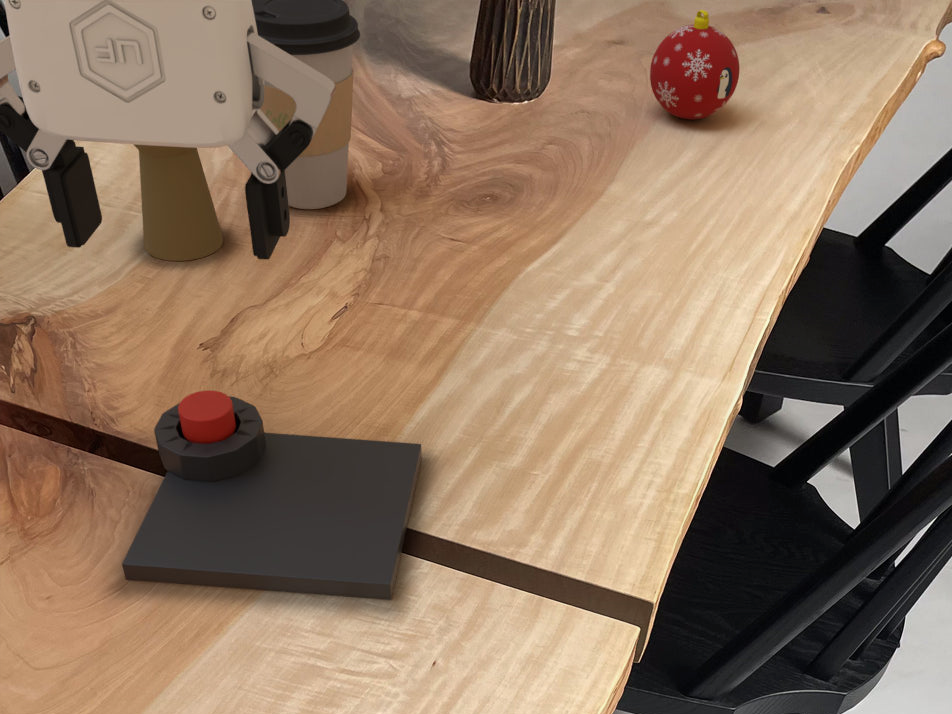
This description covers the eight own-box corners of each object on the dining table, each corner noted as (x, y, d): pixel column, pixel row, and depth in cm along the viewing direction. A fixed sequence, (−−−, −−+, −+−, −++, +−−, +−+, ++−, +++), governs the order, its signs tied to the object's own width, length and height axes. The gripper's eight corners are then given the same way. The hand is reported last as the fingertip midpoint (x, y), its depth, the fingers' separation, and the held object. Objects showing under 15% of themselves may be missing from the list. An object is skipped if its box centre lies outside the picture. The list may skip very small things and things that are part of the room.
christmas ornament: (694, 95, 114) (709, -8, 108) (749, 123, 109) (768, 17, 102) (627, 108, 111) (639, 3, 104) (681, 139, 105) (696, 30, 99)
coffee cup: (236, 209, 90) (210, 18, 81) (281, 164, 97) (263, -17, 88) (345, 226, 89) (332, 32, 79) (383, 179, 96) (375, -4, 86)
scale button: (176, 443, 62) (170, 418, 61) (191, 412, 65) (186, 388, 63) (228, 447, 62) (224, 422, 61) (241, 416, 64) (238, 391, 63)
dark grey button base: (107, 579, 58) (95, 536, 56) (181, 432, 67) (173, 391, 65) (391, 600, 57) (389, 558, 55) (423, 449, 67) (422, 409, 65)
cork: (139, 230, 87) (111, 90, 80) (216, 220, 89) (196, 82, 82) (148, 265, 83) (120, 121, 76) (229, 254, 85) (209, 112, 77)
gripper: (-152, -142, 42) (-23, 266, 53) (298, -119, 41) (332, 288, 53) (-61, -176, 48) (38, 199, 59) (336, -156, 47) (359, 218, 58)
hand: (177, 240), depth 56 cm, fingers open, 9 cm apart
